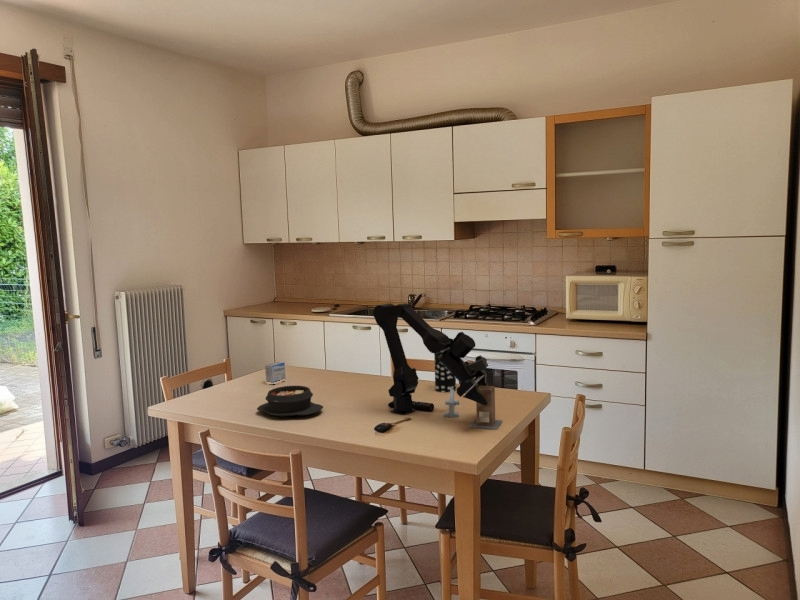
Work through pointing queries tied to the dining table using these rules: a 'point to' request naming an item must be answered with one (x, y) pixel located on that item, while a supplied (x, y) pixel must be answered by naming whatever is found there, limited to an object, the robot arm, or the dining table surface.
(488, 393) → the walnut block
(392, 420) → the dining table surface
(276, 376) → the medicine box
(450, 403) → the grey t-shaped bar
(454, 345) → the robot arm
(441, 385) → the spotted tube
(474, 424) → the mat
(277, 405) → the casserole
